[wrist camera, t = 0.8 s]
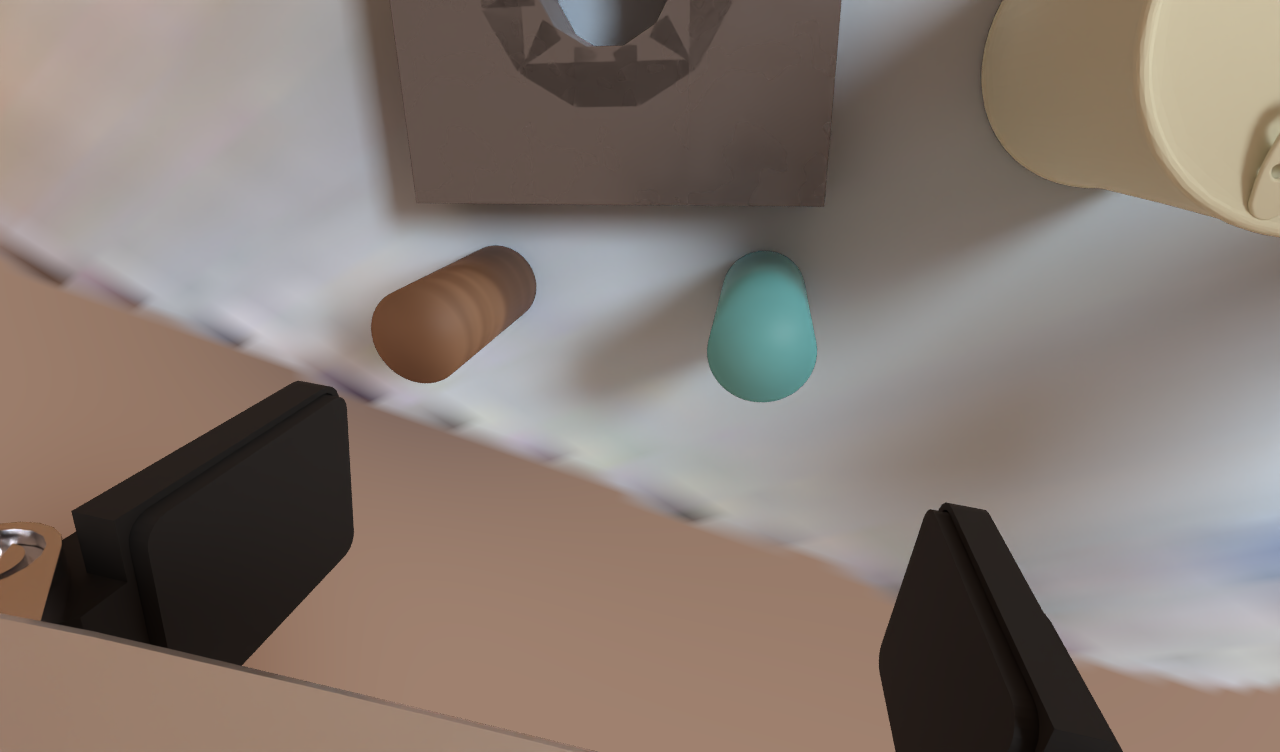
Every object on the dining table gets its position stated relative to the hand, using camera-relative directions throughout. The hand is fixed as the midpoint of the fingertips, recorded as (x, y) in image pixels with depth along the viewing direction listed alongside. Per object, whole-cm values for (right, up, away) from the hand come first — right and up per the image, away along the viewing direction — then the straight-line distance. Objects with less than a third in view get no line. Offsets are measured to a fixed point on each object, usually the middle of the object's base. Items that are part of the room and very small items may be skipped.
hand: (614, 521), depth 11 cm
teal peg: (+6, +6, +18) cm, 20 cm away
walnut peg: (-6, +7, +20) cm, 22 cm away
